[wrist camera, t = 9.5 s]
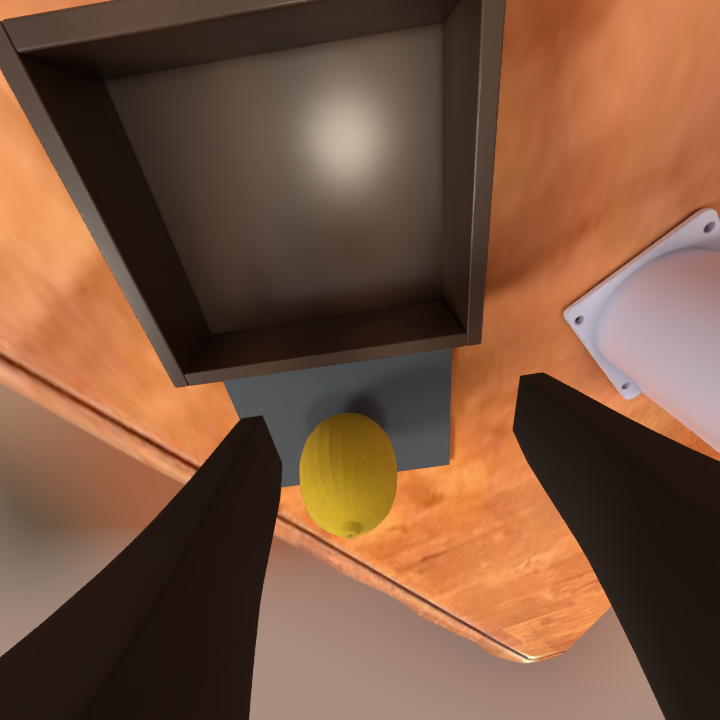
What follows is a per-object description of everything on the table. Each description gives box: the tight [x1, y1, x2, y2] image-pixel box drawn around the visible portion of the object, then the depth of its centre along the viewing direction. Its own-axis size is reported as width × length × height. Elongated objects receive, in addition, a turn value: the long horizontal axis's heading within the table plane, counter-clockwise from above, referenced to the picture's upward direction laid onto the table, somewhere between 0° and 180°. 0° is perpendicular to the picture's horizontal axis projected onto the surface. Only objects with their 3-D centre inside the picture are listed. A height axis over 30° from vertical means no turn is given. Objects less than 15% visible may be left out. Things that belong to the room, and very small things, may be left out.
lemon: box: [299, 413, 397, 539], centre depth 19 cm, size 6×6×8 cm
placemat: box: [223, 348, 451, 487], centre depth 22 cm, size 14×12×1 cm
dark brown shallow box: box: [0, 0, 506, 388], centre depth 14 cm, size 14×12×4 cm
